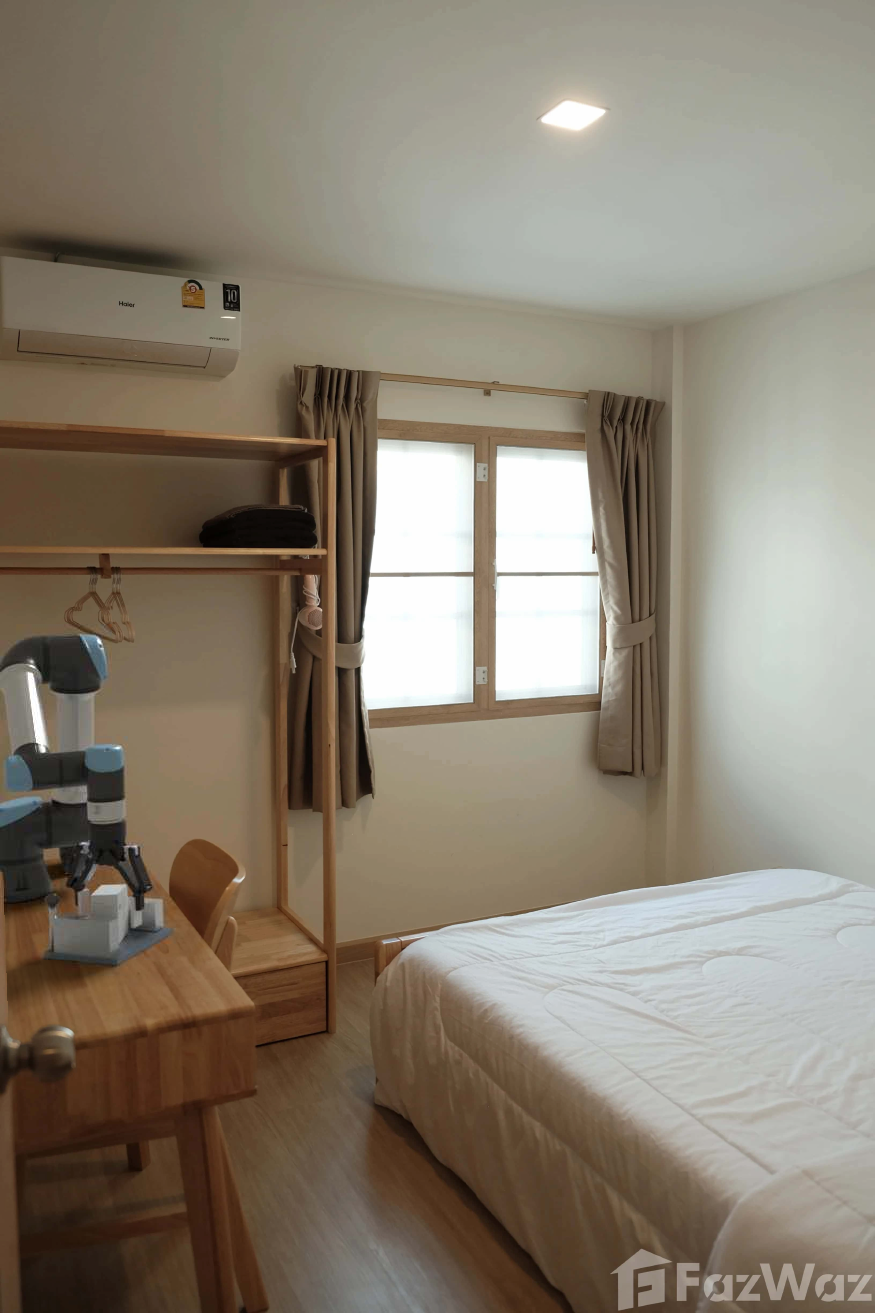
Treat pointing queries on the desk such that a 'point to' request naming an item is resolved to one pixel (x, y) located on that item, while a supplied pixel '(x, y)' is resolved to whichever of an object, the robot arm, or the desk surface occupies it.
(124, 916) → the small box
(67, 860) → the stone block
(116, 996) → the desk surface
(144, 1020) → the desk surface
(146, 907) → the jaw
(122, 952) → the vise
